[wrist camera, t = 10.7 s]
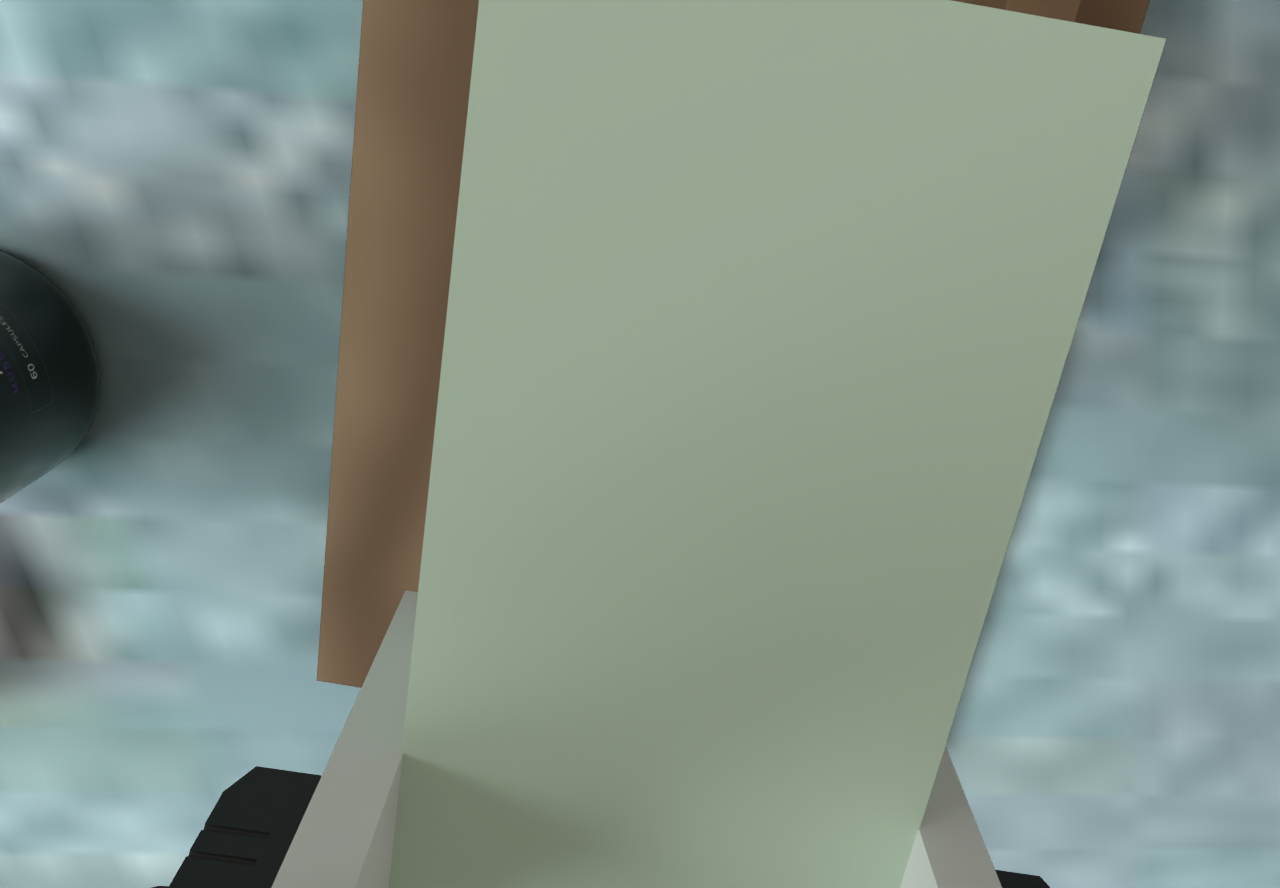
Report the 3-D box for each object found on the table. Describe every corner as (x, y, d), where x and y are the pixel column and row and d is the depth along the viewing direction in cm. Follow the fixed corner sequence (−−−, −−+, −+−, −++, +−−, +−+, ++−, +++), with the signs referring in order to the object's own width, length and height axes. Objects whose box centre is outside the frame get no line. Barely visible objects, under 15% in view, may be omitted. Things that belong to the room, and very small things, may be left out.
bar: (414, 917, 17) (366, 1091, 14) (527, -56, 12) (487, -82, 9) (792, 970, 17) (819, 1152, 15) (1051, 37, 12) (1166, 38, 10)
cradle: (326, 662, 33) (216, 859, 25) (398, -342, 24) (262, -526, 16) (907, 754, 34) (977, 976, 26) (1192, -198, 25) (1436, -308, 17)
